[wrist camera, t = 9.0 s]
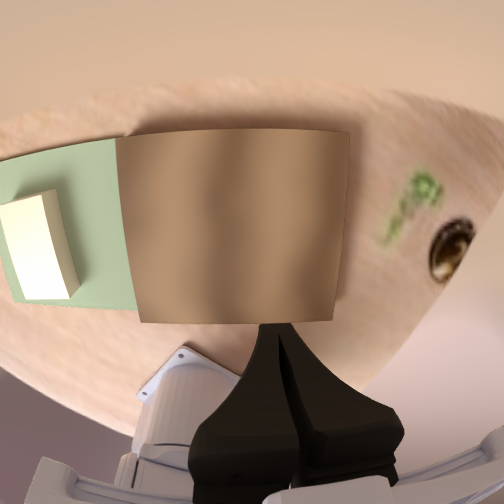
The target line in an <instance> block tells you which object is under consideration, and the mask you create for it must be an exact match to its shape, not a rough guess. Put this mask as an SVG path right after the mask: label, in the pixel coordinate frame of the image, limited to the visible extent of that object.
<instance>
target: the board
mask: <svg viewBox="0 0 504 504" xmlns="http://www.w3.org/2000/svg"><path fill="white" fill-rule="evenodd" d="M349 136H350V133H347V132H335V131H320V130H301V129H212V130H193V131H178V132H165V133H155V134H145V135H136V136H128V137H120V138H115V148H116V163H117V175H118V186H119V196H120V205H121V214H122V221H123V229H124V236H125V243H126V249H127V255H128V261H129V267H130V273H131V278H132V283H133V288H134V293H135V298H136V303H137V308H138V312H139V317H140V321H141V323H168V324H262V323H291V322H312V321H329V320H332V318H333V312H334V305H335V298H336V291H337V284H338V276H339V268H340V260H341V251H342V242H343V232H344V221H345V209H346V196H347V181H348V162H349Z"/></svg>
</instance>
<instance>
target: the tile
mask: <svg viewBox="0 0 504 504" xmlns="http://www.w3.org/2000/svg"><path fill="white" fill-rule="evenodd" d="M0 218H1V222H2V226H3V230H4V234H5V238H6V241H7V245H8V248H9V252H10V255H11V258H12V261H13V264H14V268H15V271H16V273H17V276H18V279H19V282H20V285H21V288H22V290H23V293H24V295H25V298H26V299H70V298H71V297H72V296H73V294H74V293H75V292H76V291H77V290H78V289H79V288H80V283H79V280H78V277H77V273H76V270H75V267H74V263H73V260H72V256H71V253H70V249H69V245H68V241H67V238H66V234H65V229H64V225H63V221H62V216H61V212H60V207H59V202H58V197H57V192H56V189H52V190H48V191H44V192H40V193H36V194H32V195H28V196H24V197H20V198H17V199H13V200H11V201H8V202H6V203H4V204H2V205H0Z"/></svg>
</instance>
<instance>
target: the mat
mask: <svg viewBox="0 0 504 504" xmlns="http://www.w3.org/2000/svg"><path fill="white" fill-rule="evenodd" d="M52 189H56V192H57V197H58V202H59V207H60V212H61V216H62V221H63V225H64V229H65V234H66V238H67V241H68V245H69V249H70V253H71V256H72V260H73V263H74V267H75V270H76V273H77V277H78V280H79V283H80V288H79V289H78V290H77V291H76V292H75V293H74V294H73V296H72V297H71V298H70V299H26V298H25V295H24V293H23V290H22V288H21V285H20V282H19V279H18V276H17V273H16V271H15V268H14V264H13V261H12V258H11V255H10V252H9V248H8V245H7V241H6V238H5V234H4V230H3V226H2V222H1V218H0V257H1V261H2V264H3V268H4V271H5V275H6V278H7V281H8V284H9V287H10V290H11V293H12V296H13V299H14V302H18V303H29V304H39V305H51V306H64V307H78V308H94V309H114V310H138V308H137V303H136V298H135V293H134V288H133V283H132V278H131V273H130V267H129V261H128V255H127V249H126V243H125V236H124V229H123V221H122V214H121V205H120V196H119V186H118V175H117V163H116V148H115V138H113V139H106V140H100V141H93V142H87V143H82V144H76V145H71V146H65V147H60V148H55V149H51V150H46V151H42V152H37V153H33V154H29V155H25V156H21V157H17V158H13V159H9V160H5V161H2V162H0V205H2V204H4V203H6V202H8V201H11V200H13V199H17V198H20V197H24V196H28V195H32V194H36V193H40V192H44V191H48V190H52Z"/></svg>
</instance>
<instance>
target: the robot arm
mask: <svg viewBox="0 0 504 504" xmlns="http://www.w3.org/2000/svg"><path fill="white" fill-rule="evenodd" d="M180 354H183V355H180ZM136 398H137V399H138V400H140V401H142V402H143V407H142V410H141V413H140V417H139V420H138V424H137V428H136V431H135V435H134V439H133V442H132V452H129V453H128V454H125V455H123V456H122V457H121V460H120V463H119V467H118V471H117V474H116V478H115V482H114V485H113V484H108V483H104V482H100V481H96V480H92V479H89V478H85V477H82V476H78V475H77V473H76V472H75V471H74V470H73V469H72V468H71V467H70V466H68V465H66V464H63V463H61V462H58V461H54V460H52V459H49V458H46V457H42V458H41V460H40V463H39V465H38V468H37V470H36V472H35V475H34V477H33V480H32V483H31V485H30V488H29V490H28V493H27V496H26V499H25V501H24V504H476V503H477V502H479V501H481V500H482V499H484V498H486V497H487V496H489V495H491V494H492V493H494V492H496V491H497V490H499V489H500V488H501V487H502V486H503V485H504V425H503V426H501V427H499V428H497V429H495V430H494V431H492V432H490V433H489V434H488V435H487V436H486V437H485V438H484V439H483V440H482V442H481V444H479V445H477V446H475V447H473V448H471V449H468V450H466V451H464V452H462V453H459V454H457V455H455V456H452V457H450V458H447V459H445V460H442V461H440V462H437V463H434V464H432V465H429V466H426V467H423V468H420V469H417V470H414V471H411V472H408V473H405V474H401V475H397V472H396V469H395V467H394V464H395V462H396V459H395V456H394V451H395V450H396V448H397V447H398V445H399V444H400V442H401V441H402V439H403V436H404V434H405V433H404V428H403V425H402V423H401V421H400V419H399V417H398V416H397V415H396V413H395V411H394V409H393V408H390V407H388V406H385V405H383V404H381V403H379V402H376V401H374V400H372V399H370V398H368V397H366V396H365V395H363V394H361V393H359V392H358V391H356V390H355V389H353V388H352V387H350V386H349V385H347V384H346V383H344V382H343V381H342V380H340V379H339V378H338V377H337V376H335V375H334V374H333V373H332V372H331V371H330V370H329V369H328V368H326V367H325V366H324V365H323V364H322V362H321V361H320V360H319V359H318V358H317V357H316V356H315V355H314V354H313V353H312V351H311V350H310V349H309V348H308V347H307V345H306V344H305V343H304V342H303V340H302V339H301V337H300V336H299V335H298V333H297V332H296V330H295V329H294V327H293V326H292V324H291V323H269V324H260V325H259V332H258V338H257V341H256V345H255V348H254V350H253V353H252V356H251V358H250V360H249V362H248V365H247V367H246V369H245V371H244V372H243V374H242V376H241V377H240V376H238V375H236V374H234V373H232V372H231V371H229V370H227V369H225V368H223V367H222V366H220V365H218V364H216V363H214V362H213V361H211V360H209V359H208V358H206V357H204V356H202V355H201V354H199V353H197V352H196V351H194V350H192V349H191V348H189V347H187V346H181V347H180V348H179V349H178V350H177V351H176V352H175V353H174V354H173V355H172V356H171V357H170V358H169V360H168V361H167V362H166V363H165V364H164V365H163V366H162V367H161V368H160V369H159V370H158V371H157V372H156V373H155V375H154V376H153V377H152V378H151V379H150V380H149V381H148V382H147V383H146V384H145V385H144V386H143V387H142V388H141V389H140V391H139V392H138V393H137V394H136ZM290 484H291V489H289V485H290Z"/></svg>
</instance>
